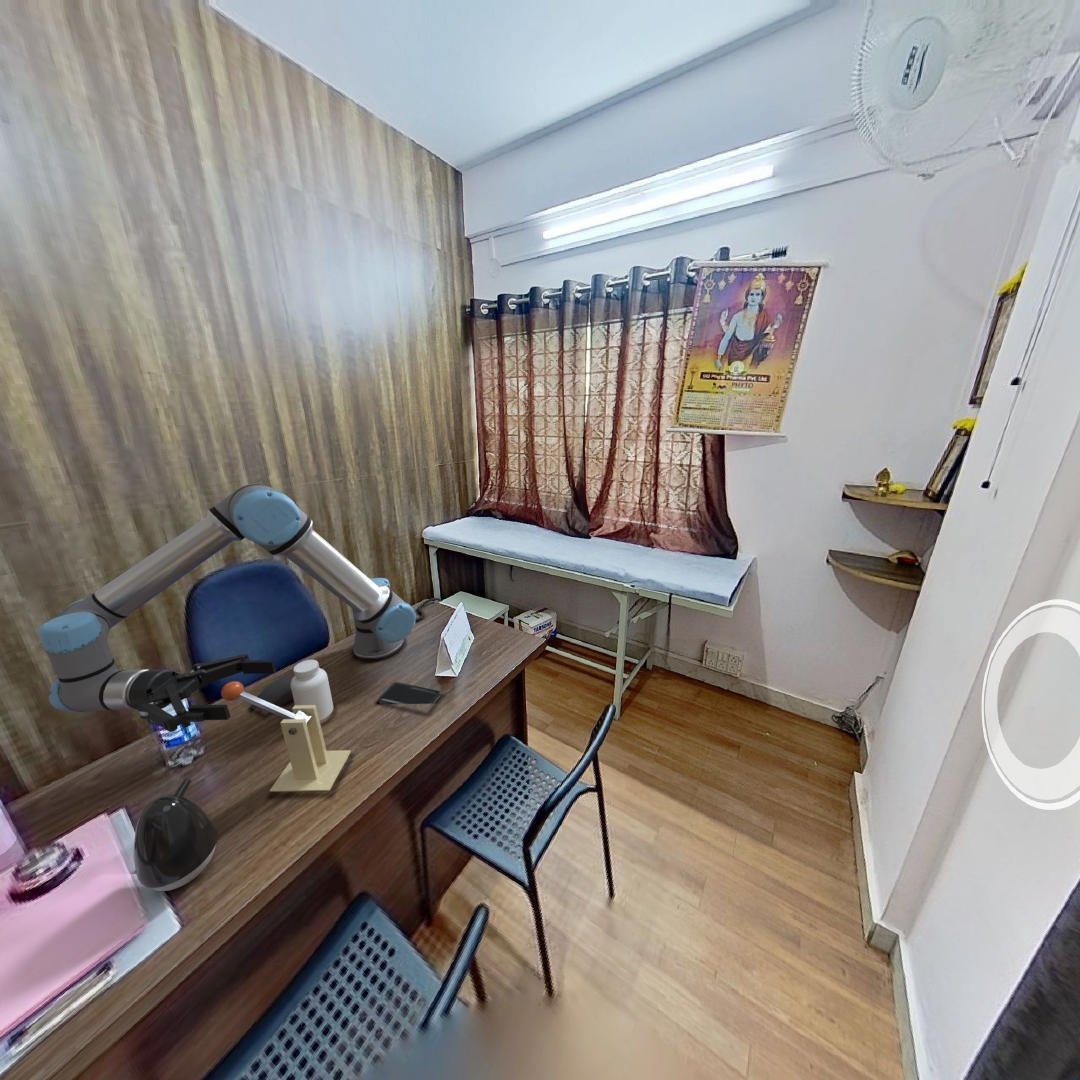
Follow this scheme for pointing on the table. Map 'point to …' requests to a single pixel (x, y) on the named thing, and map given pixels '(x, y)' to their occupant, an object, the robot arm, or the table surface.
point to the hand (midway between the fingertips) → (252, 687)
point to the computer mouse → (277, 692)
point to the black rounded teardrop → (173, 841)
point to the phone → (409, 695)
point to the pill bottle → (312, 687)
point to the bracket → (308, 755)
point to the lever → (258, 701)
